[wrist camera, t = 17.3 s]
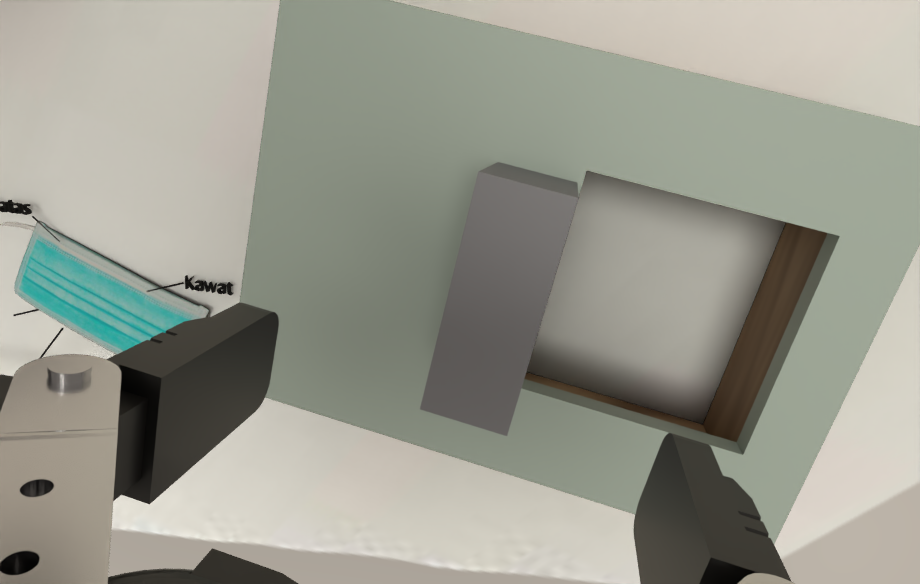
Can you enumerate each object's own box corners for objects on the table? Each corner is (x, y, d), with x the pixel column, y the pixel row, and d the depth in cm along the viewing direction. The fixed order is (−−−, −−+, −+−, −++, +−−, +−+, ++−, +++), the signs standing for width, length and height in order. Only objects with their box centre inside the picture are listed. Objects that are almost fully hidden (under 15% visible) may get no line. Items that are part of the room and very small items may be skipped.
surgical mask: (-101, 375, 33) (-141, 195, 30) (-28, 347, 37) (-56, 185, 35) (242, 432, 30) (235, 238, 27) (282, 395, 34) (279, 222, 31)
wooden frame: (308, 328, 32) (262, 363, 28) (359, 34, 28) (315, 15, 23) (718, 452, 30) (745, 513, 25) (846, 153, 26) (908, 160, 21)
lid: (240, 376, 28) (155, 440, 22) (295, -19, 23) (203, -67, 17) (760, 540, 25) (815, 659, 20) (952, 137, 20) (1099, 142, 15)
